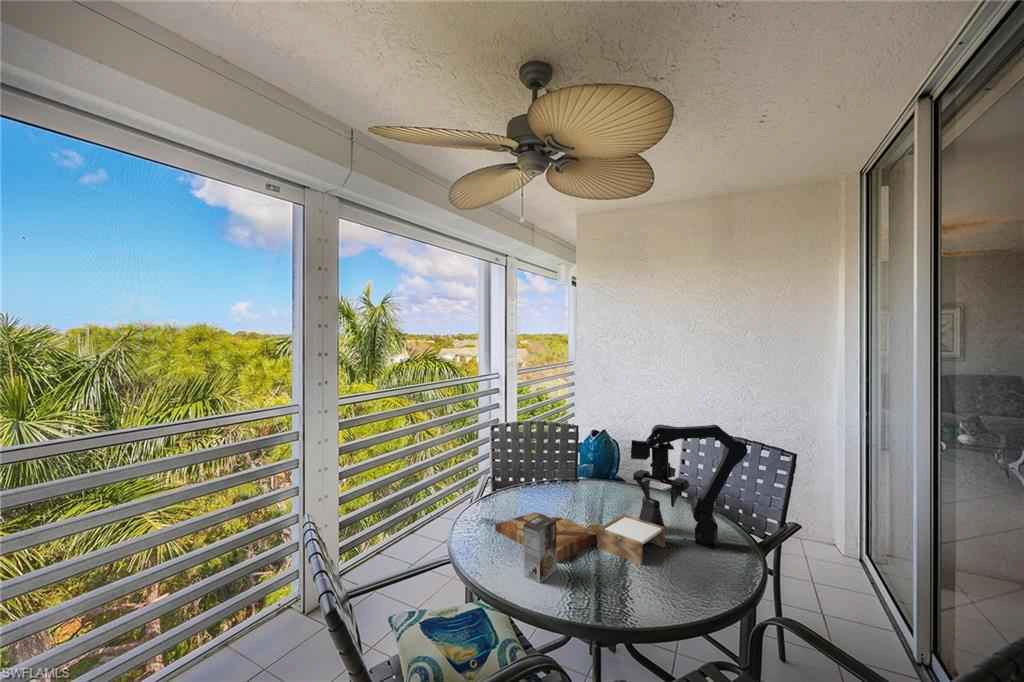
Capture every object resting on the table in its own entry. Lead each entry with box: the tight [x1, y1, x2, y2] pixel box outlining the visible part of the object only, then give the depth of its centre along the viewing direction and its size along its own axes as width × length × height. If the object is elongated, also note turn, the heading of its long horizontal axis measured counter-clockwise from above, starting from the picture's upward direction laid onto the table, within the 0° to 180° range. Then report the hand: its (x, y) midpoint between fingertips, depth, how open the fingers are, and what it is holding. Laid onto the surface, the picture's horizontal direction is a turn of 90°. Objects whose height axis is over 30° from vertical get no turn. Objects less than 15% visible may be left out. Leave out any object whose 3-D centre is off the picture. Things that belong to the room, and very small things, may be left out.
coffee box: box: [523, 514, 558, 584], centre depth 134 cm, size 9×6×16 cm
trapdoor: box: [604, 517, 662, 546], centre depth 150 cm, size 14×14×3 cm
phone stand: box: [638, 495, 667, 532], centre depth 164 cm, size 9×6×12 cm, turn 117°
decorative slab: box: [494, 511, 598, 564], centre depth 159 cm, size 32×22×5 cm
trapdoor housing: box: [596, 514, 666, 566], centre depth 151 cm, size 16×18×6 cm
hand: (660, 503), depth 158 cm, fingers open, 9 cm apart
